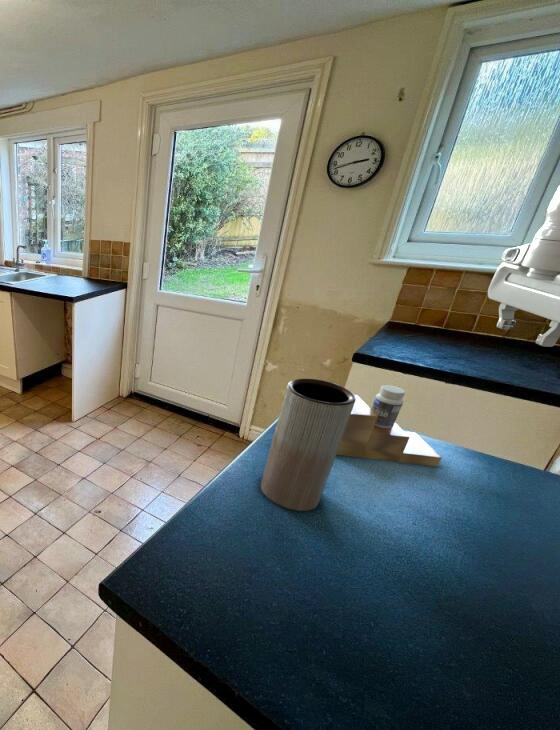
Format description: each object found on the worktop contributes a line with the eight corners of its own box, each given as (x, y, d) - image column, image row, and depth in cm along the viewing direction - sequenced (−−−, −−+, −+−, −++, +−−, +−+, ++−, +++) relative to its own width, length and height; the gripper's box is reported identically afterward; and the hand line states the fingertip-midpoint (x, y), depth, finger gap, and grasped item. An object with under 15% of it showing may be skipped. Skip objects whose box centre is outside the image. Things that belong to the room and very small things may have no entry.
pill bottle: (361, 419, 92) (373, 385, 88) (377, 416, 93) (390, 382, 90) (382, 430, 88) (396, 395, 84) (398, 426, 89) (413, 392, 86)
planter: (308, 483, 83) (342, 381, 73) (325, 517, 74) (367, 407, 65) (255, 475, 85) (281, 375, 76) (265, 508, 77) (296, 400, 67)
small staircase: (410, 443, 96) (429, 401, 91) (436, 469, 87) (458, 424, 82) (310, 432, 100) (323, 391, 96) (325, 455, 92) (340, 412, 87)
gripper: (652, 270, 60) (597, 358, 65) (537, 250, 77) (503, 321, 83) (597, 268, 61) (548, 355, 67) (497, 249, 79) (465, 319, 85)
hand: (522, 336), depth 75 cm, fingers open, 8 cm apart
